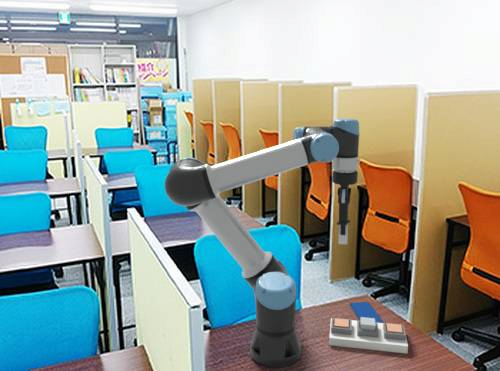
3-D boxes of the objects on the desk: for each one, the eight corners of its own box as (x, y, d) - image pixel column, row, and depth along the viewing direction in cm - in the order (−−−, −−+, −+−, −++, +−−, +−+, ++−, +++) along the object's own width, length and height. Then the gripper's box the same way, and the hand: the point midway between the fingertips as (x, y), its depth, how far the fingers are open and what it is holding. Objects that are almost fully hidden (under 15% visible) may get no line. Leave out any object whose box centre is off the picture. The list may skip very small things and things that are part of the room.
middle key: (360, 330, 144) (360, 324, 143) (360, 322, 148) (360, 317, 147) (375, 331, 143) (375, 325, 142) (374, 324, 147) (374, 318, 146)
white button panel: (328, 345, 143) (329, 332, 142) (330, 324, 154) (331, 313, 153) (407, 353, 138) (408, 340, 137) (403, 332, 149) (404, 320, 148)
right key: (387, 336, 142) (387, 330, 142) (386, 329, 146) (386, 323, 146) (402, 338, 141) (402, 332, 141) (400, 330, 146) (401, 324, 145)
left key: (334, 331, 146) (334, 325, 145) (334, 323, 150) (334, 318, 149) (348, 332, 145) (348, 326, 144) (348, 325, 149) (348, 319, 148)
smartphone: (368, 301, 169) (384, 322, 154) (368, 304, 169) (383, 324, 154) (348, 302, 168) (362, 323, 154) (348, 305, 168) (362, 326, 154)
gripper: (357, 175, 134) (354, 251, 140) (358, 166, 146) (355, 237, 152) (330, 174, 136) (328, 249, 142) (334, 165, 148) (332, 235, 154)
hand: (342, 243), depth 147 cm, fingers closed
